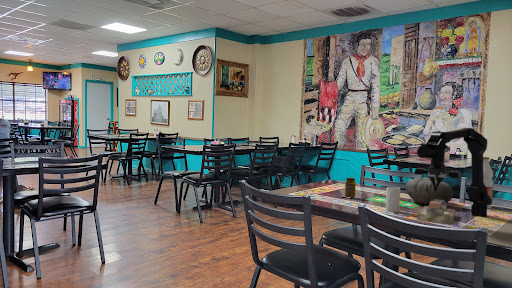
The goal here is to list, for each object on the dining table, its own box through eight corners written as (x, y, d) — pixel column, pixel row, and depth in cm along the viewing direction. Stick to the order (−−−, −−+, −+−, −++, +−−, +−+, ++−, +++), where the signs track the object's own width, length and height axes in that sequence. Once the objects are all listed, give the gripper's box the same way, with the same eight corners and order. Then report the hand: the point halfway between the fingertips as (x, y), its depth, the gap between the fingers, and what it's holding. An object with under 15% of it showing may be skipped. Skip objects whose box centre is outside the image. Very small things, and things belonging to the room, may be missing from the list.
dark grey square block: (444, 206, 183) (444, 200, 183) (443, 207, 180) (443, 201, 180) (434, 205, 186) (434, 199, 186) (433, 206, 182) (433, 200, 182)
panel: (455, 216, 182) (455, 204, 182) (450, 224, 166) (451, 211, 166) (424, 211, 190) (424, 200, 190) (417, 219, 174) (417, 206, 173)
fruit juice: (495, 208, 202) (498, 157, 201) (480, 208, 201) (483, 157, 199) (482, 204, 212) (485, 156, 210) (467, 205, 210) (470, 156, 209)
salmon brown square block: (441, 208, 173) (441, 202, 173) (439, 210, 170) (440, 203, 170) (430, 207, 176) (431, 200, 176) (429, 208, 172) (429, 202, 172)
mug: (387, 208, 196) (388, 186, 195) (400, 210, 192) (401, 187, 191) (382, 212, 187) (383, 188, 187) (395, 214, 184) (396, 190, 183)
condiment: (358, 197, 224) (358, 178, 223) (350, 199, 218) (351, 179, 217) (347, 196, 229) (348, 176, 229) (339, 197, 223) (340, 178, 223)
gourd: (401, 200, 206) (406, 169, 207) (405, 200, 228) (409, 172, 229) (451, 210, 194) (456, 178, 195) (450, 209, 216) (454, 180, 217)
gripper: (413, 157, 171) (411, 190, 172) (458, 160, 161) (456, 196, 162) (417, 156, 181) (415, 188, 181) (461, 159, 170) (458, 193, 171)
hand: (435, 191), depth 174 cm, fingers closed
